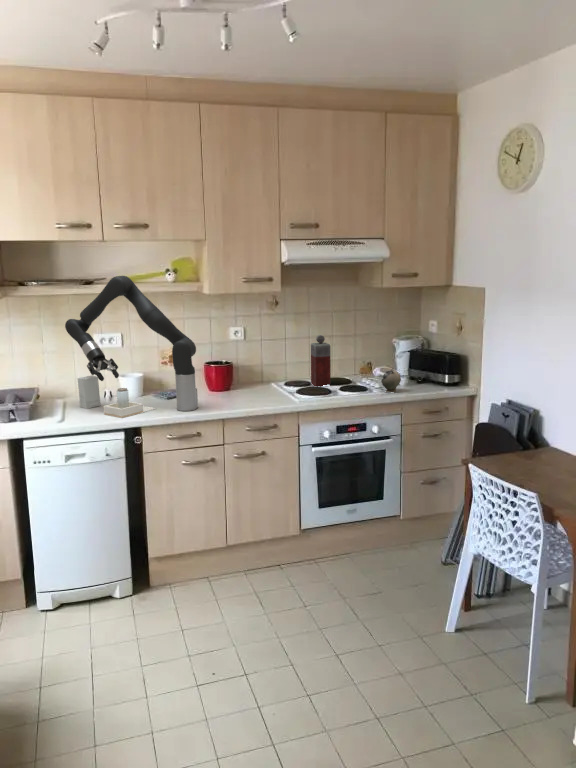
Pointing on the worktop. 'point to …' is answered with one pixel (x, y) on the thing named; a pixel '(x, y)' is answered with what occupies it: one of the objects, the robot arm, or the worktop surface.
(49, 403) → the worktop surface
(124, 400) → the jar
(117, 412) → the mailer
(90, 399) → the skincare box
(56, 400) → the worktop surface
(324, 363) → the red and grey bottle
